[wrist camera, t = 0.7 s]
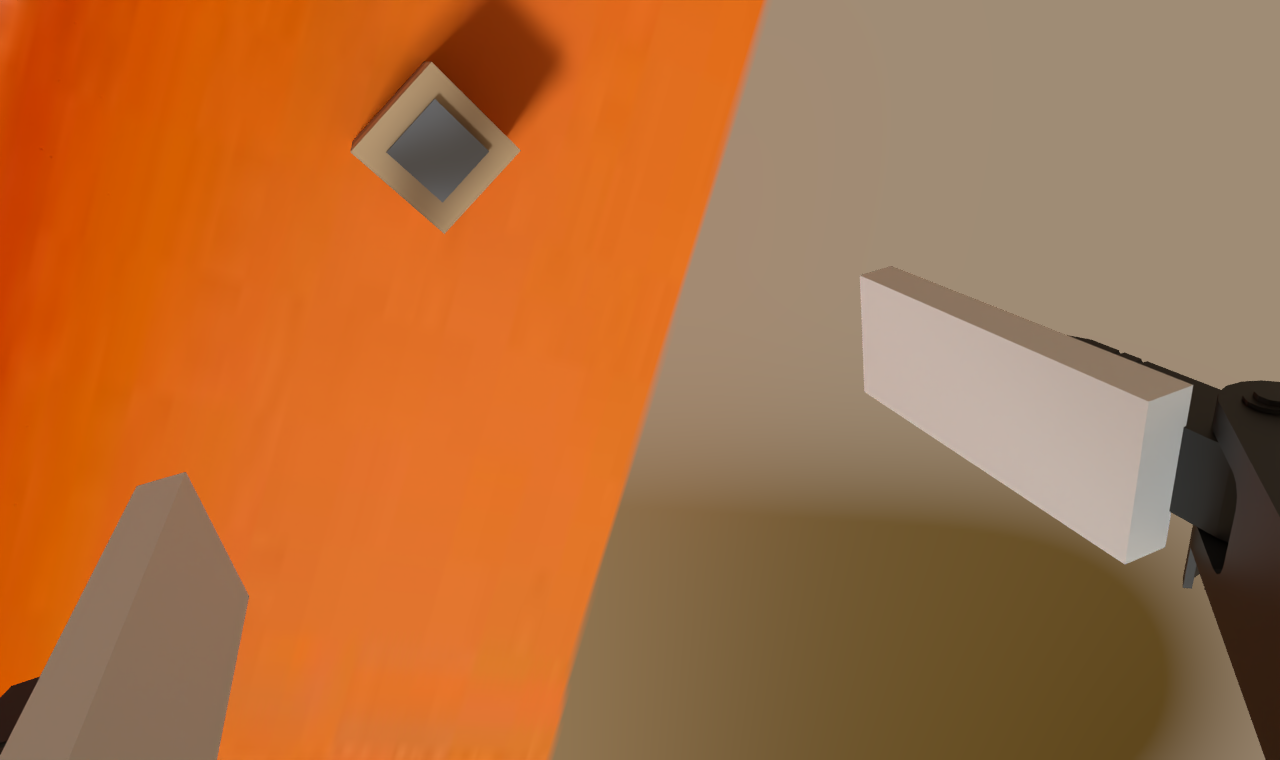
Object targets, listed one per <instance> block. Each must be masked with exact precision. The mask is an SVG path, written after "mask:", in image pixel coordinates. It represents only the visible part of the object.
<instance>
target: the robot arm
mask: <svg viewBox="0 0 1280 760" xmlns="http://www.w3.org/2000/svg"><path fill="white" fill-rule="evenodd" d="M860 291H861V316H862V341H863V365H864V391H865V393H867V394H868V395H870V396H872V397H873V398H875V399H876V400H878V401H879V402H881V403H882V404H884V405H885V406H887V407H888V408H890V409H891V410H893V411H894V412H896V413H897V414H899V415H900V416H902V417H903V418H905V419H906V420H908V421H909V422H911V423H912V424H914V425H915V426H917V427H918V428H920V429H921V430H923V431H925V432H926V433H927V434H929V435H930V436H932V437H933V438H935V439H936V440H938V441H939V442H941V443H942V444H944V445H945V446H947V447H948V448H950V449H951V450H953V451H954V452H956V453H958V454H959V455H961V456H962V457H964V458H965V459H967V460H968V461H970V462H971V463H973V464H974V465H976V466H977V467H979V468H980V469H982V470H983V471H985V472H986V473H988V474H989V475H991V476H992V477H994V478H995V479H997V480H998V481H1000V482H1001V483H1003V484H1004V485H1006V486H1007V487H1009V488H1010V489H1012V490H1013V491H1015V492H1016V493H1018V494H1019V495H1021V496H1022V497H1024V498H1025V499H1027V500H1029V501H1030V502H1031V503H1033V504H1035V505H1036V506H1038V507H1039V508H1040V509H1042V510H1044V511H1045V512H1047V513H1048V514H1050V515H1051V516H1053V517H1054V518H1056V519H1057V520H1059V521H1060V522H1062V523H1063V524H1065V525H1066V526H1068V527H1069V528H1071V529H1073V530H1074V531H1075V532H1077V533H1079V534H1080V535H1081V536H1083V537H1084V538H1086V539H1087V540H1089V541H1090V542H1092V543H1093V544H1095V545H1096V546H1098V547H1099V548H1101V549H1102V550H1104V551H1105V552H1107V553H1108V554H1110V555H1112V556H1113V557H1114V558H1116V559H1117V560H1119V561H1120V562H1122V563H1124V564H1127V563H1129V562H1132V561H1134V560H1136V559H1139V558H1141V557H1143V556H1145V555H1148V554H1150V553H1153V552H1155V551H1157V550H1159V549H1162V548H1164V547H1165V545H1166V539H1167V534H1168V528H1169V522H1170V516H1171V512H1172V513H1173V514H1175V515H1177V516H1179V517H1181V518H1183V519H1184V520H1186V521H1188V522H1189V523H1191V524H1193V528H1192V533H1191V539H1190V544H1189V550H1188V554H1187V559H1186V564H1185V570H1184V575H1183V588H1192V584H1193V580H1194V577H1196V576H1197V575H1199V574H1200V576H1201V579H1202V581H1203V584H1204V587H1205V590H1206V593H1207V596H1208V598H1209V601H1210V604H1211V607H1212V610H1213V612H1214V615H1215V618H1216V621H1217V624H1218V627H1219V629H1220V632H1221V635H1222V638H1223V641H1224V643H1225V646H1226V649H1227V652H1228V655H1229V658H1230V660H1231V663H1232V666H1233V669H1234V671H1235V675H1236V677H1237V680H1238V682H1239V686H1240V688H1241V691H1242V694H1243V697H1244V700H1245V703H1246V705H1247V708H1248V711H1249V714H1250V717H1251V720H1252V722H1253V725H1254V728H1255V731H1256V734H1257V737H1258V739H1259V742H1260V745H1261V748H1262V751H1263V754H1264V756H1265V759H1266V760H1280V382H1272V381H1246V382H1239V383H1235V384H1232V385H1228V386H1226V387H1225V388H1223V389H1222V390H1220V389H1217V388H1214V387H1212V386H1209V385H1207V384H1204V383H1202V382H1199V381H1197V380H1194V379H1191V378H1189V377H1186V376H1184V375H1181V374H1179V373H1176V372H1173V371H1171V370H1168V369H1166V368H1163V367H1160V366H1158V365H1155V364H1153V363H1150V362H1144V363H1143V362H1142V360H1141V359H1140V358H1137V357H1135V356H1132V355H1129V354H1127V353H1122V354H1120V352H1119V350H1117V349H1114V348H1111V347H1109V346H1106V345H1103V344H1101V343H1098V342H1096V341H1093V340H1090V339H1084V338H1079V337H1074V336H1068V335H1065V334H1062V333H1060V332H1057V331H1055V330H1052V329H1050V328H1047V327H1045V326H1042V325H1039V324H1037V323H1034V322H1032V321H1029V320H1027V319H1024V318H1022V317H1019V316H1017V315H1014V314H1012V313H1009V312H1007V311H1004V310H1002V309H999V308H996V307H994V306H991V305H989V304H986V303H984V302H981V301H979V300H976V299H974V298H971V297H968V296H966V295H964V294H961V293H958V292H956V291H953V290H951V289H948V288H946V287H943V286H941V285H938V284H936V283H933V282H931V281H928V280H926V279H923V278H920V277H917V276H915V275H913V274H910V273H908V272H905V271H903V270H900V269H898V268H895V267H893V266H890V267H887V268H884V269H880V270H877V271H873V272H870V273H866V274H863V275H860ZM248 599H249V595H248V593H247V591H246V589H245V587H244V585H243V583H242V581H241V580H240V578H239V576H238V574H237V572H236V570H235V568H234V566H233V564H232V562H231V560H230V558H229V556H228V554H227V552H226V550H225V548H224V546H223V544H222V542H221V540H220V538H219V536H218V534H217V532H216V530H215V528H214V526H213V524H212V523H211V521H210V519H209V517H208V515H207V513H206V511H205V509H204V507H203V505H202V503H201V501H200V499H199V497H198V495H197V493H196V491H195V489H194V487H193V485H192V483H191V481H190V479H189V477H188V475H187V473H186V472H184V473H180V474H177V475H174V476H170V477H167V478H163V479H160V480H156V481H153V482H150V483H146V484H143V485H139V486H137V487H136V489H135V491H134V493H133V495H132V497H131V499H130V501H129V502H128V504H127V506H126V508H125V510H124V512H123V514H122V516H121V518H120V520H119V522H118V524H117V526H116V528H115V530H114V532H113V534H112V536H111V538H110V540H109V542H108V544H107V546H106V548H105V550H104V552H103V554H102V556H101V558H100V560H99V562H98V564H97V566H96V567H95V569H94V571H93V573H92V575H91V577H90V579H89V581H88V583H87V585H86V587H85V589H84V591H83V593H82V595H81V597H80V599H79V601H78V603H77V605H76V607H75V609H74V611H73V613H72V615H71V617H70V619H69V621H68V623H67V625H66V627H65V629H64V631H63V633H62V634H61V636H60V638H59V640H58V642H57V644H56V646H55V648H54V650H53V652H52V654H51V656H50V658H49V660H48V662H47V664H46V666H45V668H44V670H43V672H42V674H41V676H40V677H37V678H34V679H31V680H28V681H25V682H22V683H19V684H16V685H13V686H11V687H10V688H9V689H8V690H7V691H6V692H5V693H4V694H3V695H2V697H1V698H0V760H217V756H218V751H219V746H220V741H221V736H222V731H223V725H224V720H225V715H226V710H227V705H228V700H229V695H230V690H231V685H232V680H233V675H234V670H235V665H236V660H237V654H238V649H239V644H240V639H241V634H242V629H243V624H244V619H245V614H246V609H247V604H248Z"/></svg>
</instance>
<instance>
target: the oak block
mask: <svg viewBox="0 0 1280 760" xmlns="http://www.w3.org/2000/svg"><path fill="white" fill-rule="evenodd" d="M520 151H521V150H520V149H519V148H518V147H517V146H516V145H515V144H514V143H513V142H512V141H511V140H510V139H509V138H508V137H507V136H506V135H505V134H504V133H503V132H502V131H501V130H500V129H499V128H498V127H497V126H496V125H495V124H494V123H493V122H492V121H491V120H490V119H489V118H488V117H487V116H486V115H485V114H484V113H483V112H482V111H481V110H480V109H479V108H478V107H477V106H476V105H475V104H474V103H473V102H472V101H471V100H470V99H469V98H468V97H466V96H465V95H464V94H463V93H462V92H461V91H460V90H459V89H458V88H457V87H456V86H455V85H454V84H453V83H452V82H451V81H450V80H449V79H448V78H447V77H446V76H445V75H444V74H443V73H442V72H441V71H440V70H439V69H438V68H437V67H436V66H435V65H434V64H433V63H432V62H425V61H424V62H423V63H422V64H421V66H420V67H419V68H418V69H417V70H416V71H415V72H414V73H413V74H412V76H411V77H410V78H409V79H408V80H407V81H406V82H405V83H404V84H403V86H402V87H401V88H400V89H399V90H398V91H397V92H396V93H395V95H394V96H393V97H392V98H391V99H390V100H389V101H388V102H387V103H386V105H385V106H384V107H383V108H382V109H381V110H380V111H379V112H378V113H377V115H376V116H375V117H374V118H373V119H372V120H371V121H370V122H369V123H368V125H367V126H366V127H365V128H364V129H363V130H362V131H361V132H360V134H359V135H358V136H357V137H356V138H355V139H354V140H353V142H352V147H351V153H352V154H353V155H354V156H356V157H357V158H358V159H359V160H360V161H361V162H362V163H364V164H365V165H366V166H367V167H368V168H369V169H370V170H372V171H373V172H374V173H375V174H376V175H377V176H379V177H380V178H381V179H382V180H383V181H384V182H385V183H387V184H388V185H389V186H390V187H391V188H392V189H393V190H395V191H396V192H397V193H398V194H399V195H400V196H402V197H403V198H404V199H405V200H406V201H407V202H408V203H410V204H411V205H412V206H413V207H414V208H415V209H417V210H418V211H419V212H420V213H421V214H422V215H423V216H425V217H426V218H427V219H428V220H429V221H430V222H431V223H433V224H434V225H435V226H436V227H437V228H438V229H440V230H441V231H442V232H443V233H444V234H445V233H446V232H447V230H448V229H449V228H450V227H451V226H452V225H453V224H454V223H455V222H456V221H457V220H458V218H459V217H460V216H461V215H462V214H463V213H464V212H465V211H466V210H467V209H468V208H469V206H470V205H471V204H472V203H473V202H474V201H475V200H476V199H477V198H478V197H479V196H480V194H481V193H482V192H483V191H484V190H485V189H486V188H487V187H488V186H489V185H490V184H491V182H492V181H493V180H494V179H495V178H496V177H497V176H498V175H499V174H500V173H501V171H502V170H503V169H504V168H505V167H506V166H507V165H508V164H509V163H510V162H511V161H512V159H513V158H514V157H515V156H516V155H517V154H518V153H519V152H520Z"/></svg>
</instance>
